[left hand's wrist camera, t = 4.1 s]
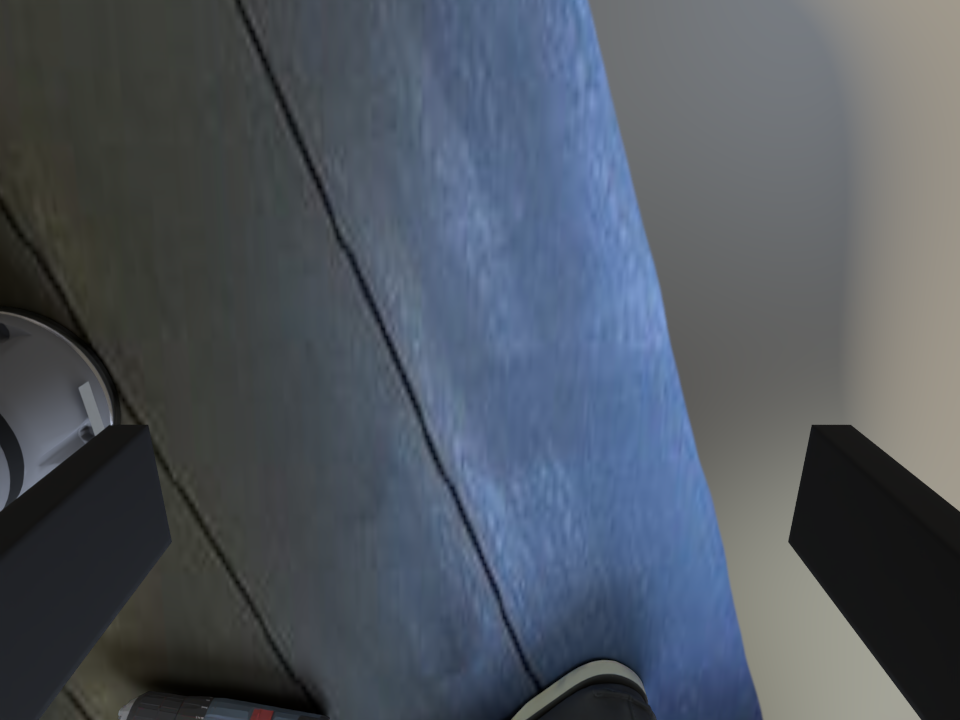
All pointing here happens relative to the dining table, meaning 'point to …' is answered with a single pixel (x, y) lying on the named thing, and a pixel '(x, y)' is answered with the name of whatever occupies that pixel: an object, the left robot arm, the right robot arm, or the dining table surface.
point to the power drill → (204, 709)
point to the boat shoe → (591, 696)
